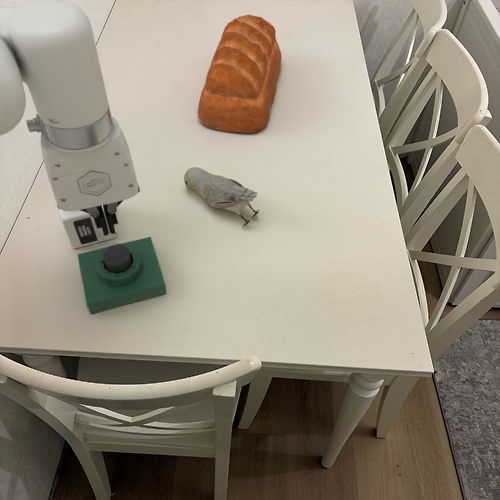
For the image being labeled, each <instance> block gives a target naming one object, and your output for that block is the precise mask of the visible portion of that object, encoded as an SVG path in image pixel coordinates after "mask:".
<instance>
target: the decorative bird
mask: <svg viewBox="0 0 500 500" xmlns="http://www.w3.org/2000/svg"><path fill="white" fill-rule="evenodd" d="M183 182H184V185H185V187H186V188H188V189H192V190H195V191H197V193H198V194H199V195H200V196H201V197H202V198H203V199H204V201H205V202H206V203H207V204H208V205H209V206H211V207H212V208H214V209H215V208H216V209H219V210H220V209H224V210H226V211H230V212H234V213H236V214H237V215H239V216H240V218H241V219H242V221H244V222H245V223H243V225H242V230H244V227H246V226H247V225H248V224H249V223H250V221H252V219H253V218H255V217H256V216H257V215H258V214H259V211H260V209H257V210H255V208H253V207H252V205H251V203H250V202H252V201H254V199H255V198H257V195H258V193H259V192H256V191H254V190H252V189H249V188H248V187H245V186H244V185H243V184H241V183H240V182H239V181H237V180H235V179H232V178H228V177H225V176H223V175H219V174H214V173H212V172H208V171H207V170H205V169H203V168H202V167H197V166H194V167H190V168H188V169H187V170H186V171H185V172H184V176H183ZM246 206H248V207H249V208H250V210H251V211H252V212H253V213H254V214H252V216H251V218H248V219H246V218H245V217H244V216H243V214H242V213H241V210H243V209H245V208H246Z"/></svg>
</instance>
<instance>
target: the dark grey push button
mask: <svg viewBox="0 0 500 500" xmlns="http://www.w3.org/2000/svg"><path fill="white" fill-rule="evenodd" d="M112 245H113V246H111V245H110V246H111V247H109V248H107V249H106V250H105V252H104V254H103V259H104V262H105V265H106V268H107V269H108V270H109V271H110V272H113V273H121V272H124V271H126V270H127V269H128V268H129V267H130V266H131V263H132V260H131V256H130V252H129V250H128V248H127V247H125V246H123V245H115V244H112Z"/></svg>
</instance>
